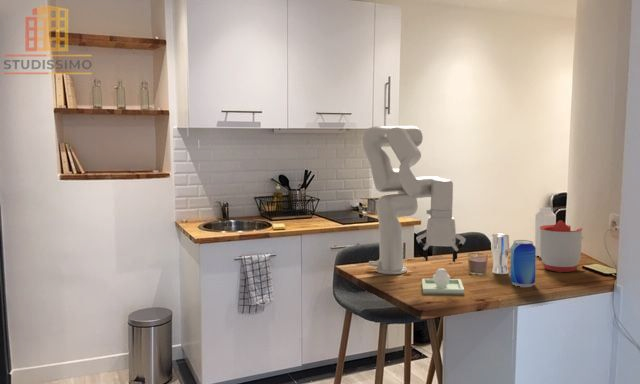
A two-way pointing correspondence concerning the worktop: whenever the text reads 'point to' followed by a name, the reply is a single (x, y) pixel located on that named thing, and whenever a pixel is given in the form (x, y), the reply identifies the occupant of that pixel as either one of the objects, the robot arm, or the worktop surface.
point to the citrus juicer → (560, 247)
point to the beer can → (523, 263)
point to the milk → (543, 219)
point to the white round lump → (441, 278)
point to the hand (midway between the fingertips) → (440, 260)
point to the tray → (452, 288)
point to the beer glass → (500, 253)
